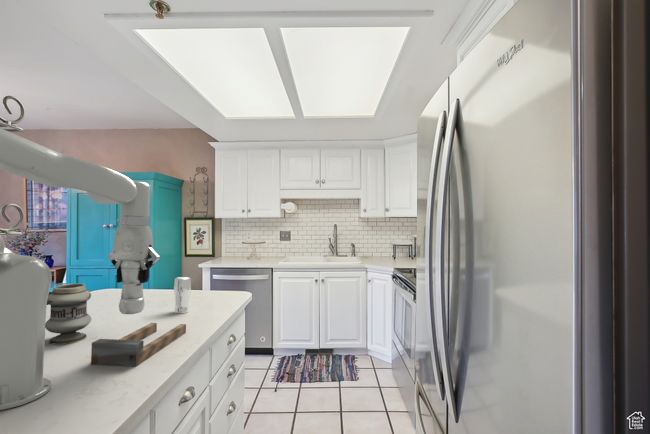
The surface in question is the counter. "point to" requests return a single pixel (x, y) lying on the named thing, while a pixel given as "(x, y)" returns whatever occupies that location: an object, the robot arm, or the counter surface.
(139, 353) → the guide track
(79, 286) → the apothecary jar
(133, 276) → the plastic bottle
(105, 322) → the counter surface
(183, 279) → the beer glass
